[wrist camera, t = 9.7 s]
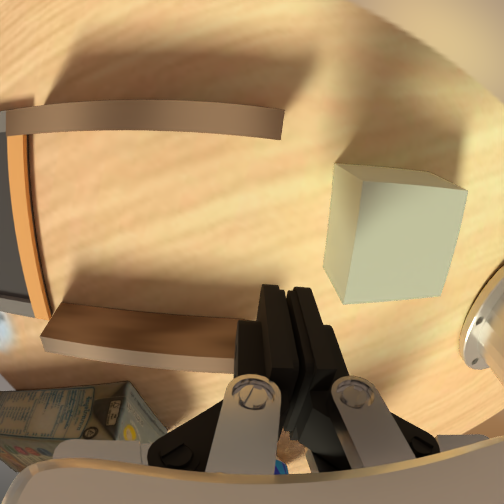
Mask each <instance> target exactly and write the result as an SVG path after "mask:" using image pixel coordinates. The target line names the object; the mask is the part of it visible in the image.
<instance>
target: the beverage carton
mask: <svg viewBox="0 0 504 504" xmlns="http://www.w3.org/2000/svg"><path fill="white" fill-rule="evenodd" d="M165 434H167V429H166V428H165V427H164V426H163V425H162V423H161V422H160V421H159V420H158V419H157V417H156V416H155V415H154V414H153V412H152V411H151V410H150V408H149V407H148V406H147V405H146V403H145V402H144V400H143V399H142V398H141V397H140V395H139V394H138V392H137V391H136V389H135V388H134V387H133V386H132V384H131V383H130V382H128V381H125V382H117V383H109V384H101V385H87V386H75V387H66V388H54V389H39V390H22V391H0V460H1V461H3V462H4V463H5V464H7V465H8V466H9V467H10V468H11V469H13V470H14V471H15V472H21V471H22V470H23V469H25V468H26V467H28V466H29V465H31V464H34V463H37V462H41V461H46V460H51V459H53V454H54V451H55V448H56V447H57V446H58V445H59V444H60V443H62V442H64V441H66V440H70V439H84V440H111V441H139V442H140V444H145V443H153V442H155V441H156V440H157V439H158V438H160V437H162V436H164V435H165Z"/></svg>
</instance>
